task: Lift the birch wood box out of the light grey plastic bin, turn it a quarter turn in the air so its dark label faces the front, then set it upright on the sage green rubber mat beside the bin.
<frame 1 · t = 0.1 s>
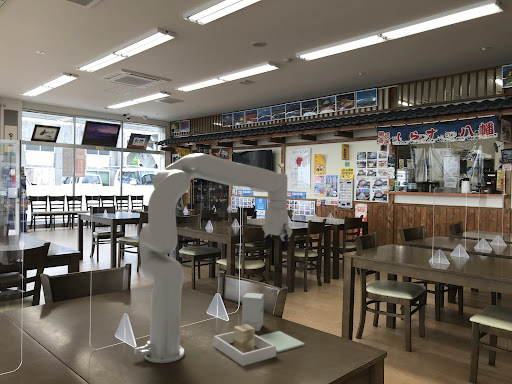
hand: (275, 249, 154), 31 cm above the table, tool pointing down, fingers open, 9 cm apart
birch box: (244, 339, 133), in the bin
supplement box: (252, 327, 156), on the table
bin: (243, 351, 133), on the table
mat: (278, 341, 142), on the table
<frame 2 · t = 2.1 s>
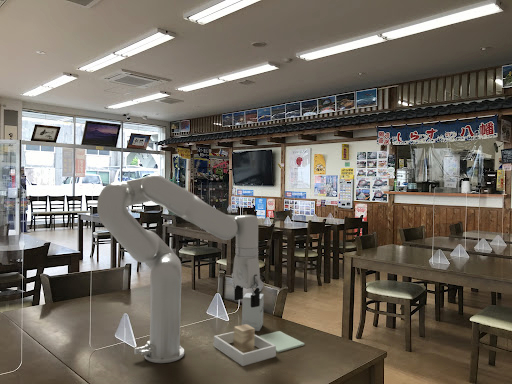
hand: (246, 303, 133), 16 cm above the table, tool pointing down, fingers open, 9 cm apart
nothing on the table moved.
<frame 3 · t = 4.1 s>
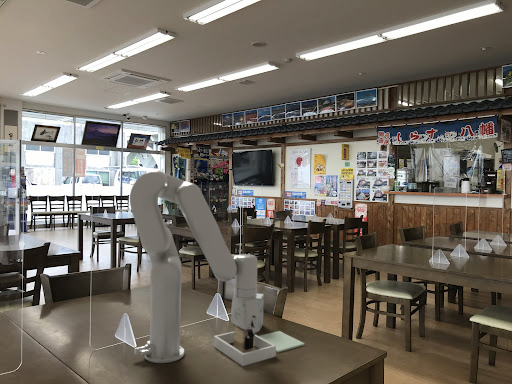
hand: (244, 345, 133), 2 cm above the table, tool pointing down, fingers closed on birch box, 5 cm apart
birch box: (244, 339, 133), in the bin, touching gripper
everything else where it was.
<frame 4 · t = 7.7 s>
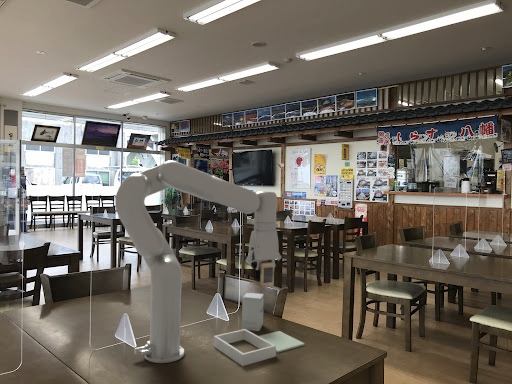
hand: (263, 279, 137), 23 cm above the table, tool pointing down, fingers closed on birch box, 5 cm apart
birch box: (263, 273, 137), point 25 cm above the table, touching gripper
everything else where it was.
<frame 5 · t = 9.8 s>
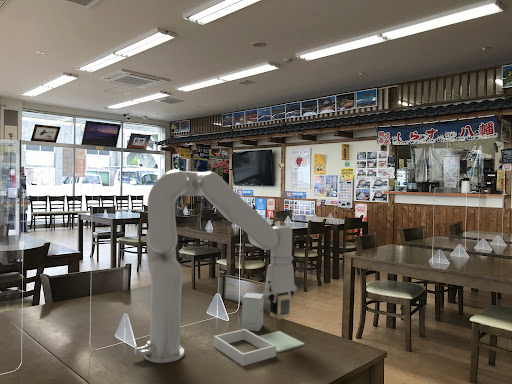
hand: (280, 310, 142), 11 cm above the table, tool pointing down, fingers closed on birch box, 5 cm apart
birch box: (280, 305, 142), point 13 cm above the table, touching gripper
everything else where it was.
when the fingers open (4 cm above the table, at t = 11.5 s): birch box drops 1 cm, resting on mat.
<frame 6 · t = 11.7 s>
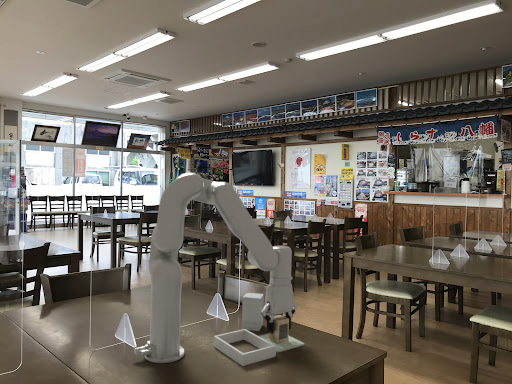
hand: (278, 329, 142), 4 cm above the table, tool pointing down, fingers open, 7 cm apart
birch box: (279, 329, 142), on the mat, point 5 cm above the table
everything else where it was.
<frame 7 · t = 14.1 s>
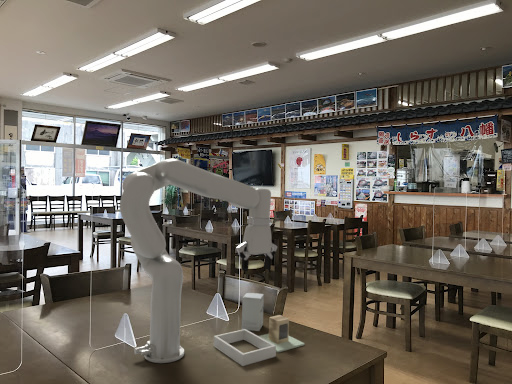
hand: (256, 269, 144), 25 cm above the table, tool pointing down, fingers open, 9 cm apart
nothing on the table moved.
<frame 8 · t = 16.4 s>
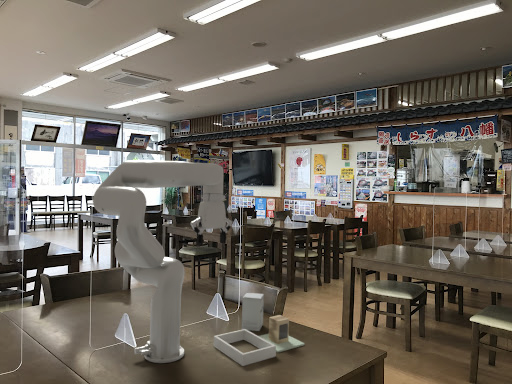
hand: (211, 244, 149), 33 cm above the table, tool pointing down, fingers open, 9 cm apart
nothing on the table moved.
at the end: birch box inside the target area on the mat (0.1 cm from its centre), point 4.6 cm above the mat's base; birch box tilted 0°; the gripper is holding nothing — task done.
